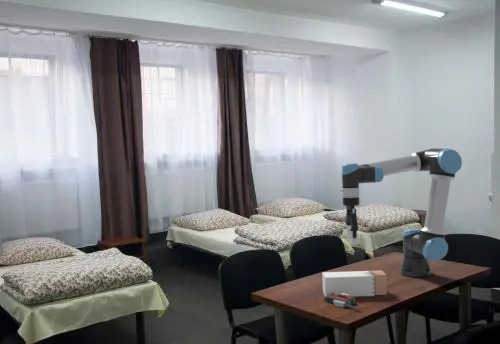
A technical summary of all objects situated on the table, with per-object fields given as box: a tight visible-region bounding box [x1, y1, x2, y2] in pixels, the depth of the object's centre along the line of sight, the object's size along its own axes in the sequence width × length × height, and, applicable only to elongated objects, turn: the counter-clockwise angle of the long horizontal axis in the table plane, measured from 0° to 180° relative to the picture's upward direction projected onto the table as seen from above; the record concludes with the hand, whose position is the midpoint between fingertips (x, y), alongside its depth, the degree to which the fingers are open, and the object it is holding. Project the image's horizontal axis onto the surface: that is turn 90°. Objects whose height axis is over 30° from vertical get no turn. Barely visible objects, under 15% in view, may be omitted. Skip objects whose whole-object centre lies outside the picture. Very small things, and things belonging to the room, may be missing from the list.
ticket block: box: [321, 270, 376, 298], centre depth 235 cm, size 22×9×9 cm, turn 90°
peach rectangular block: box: [370, 269, 388, 296], centre depth 234 cm, size 5×8×9 cm, turn 0°
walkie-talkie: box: [323, 292, 361, 311], centre depth 220 cm, size 9×4×20 cm
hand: (352, 241), depth 241 cm, fingers open, 13 cm apart
